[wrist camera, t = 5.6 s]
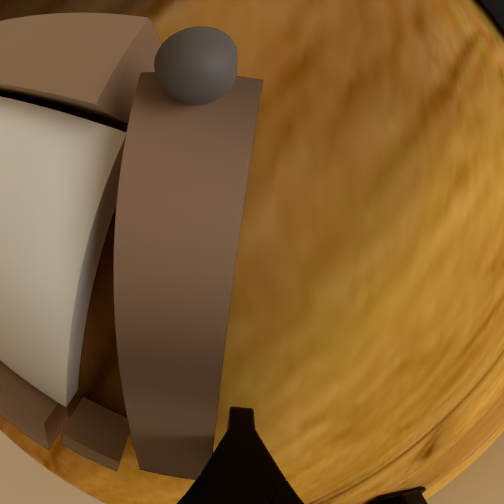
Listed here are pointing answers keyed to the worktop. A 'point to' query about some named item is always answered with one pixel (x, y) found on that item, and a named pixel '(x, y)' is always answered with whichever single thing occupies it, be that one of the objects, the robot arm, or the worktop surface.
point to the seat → (60, 212)
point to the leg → (180, 244)
